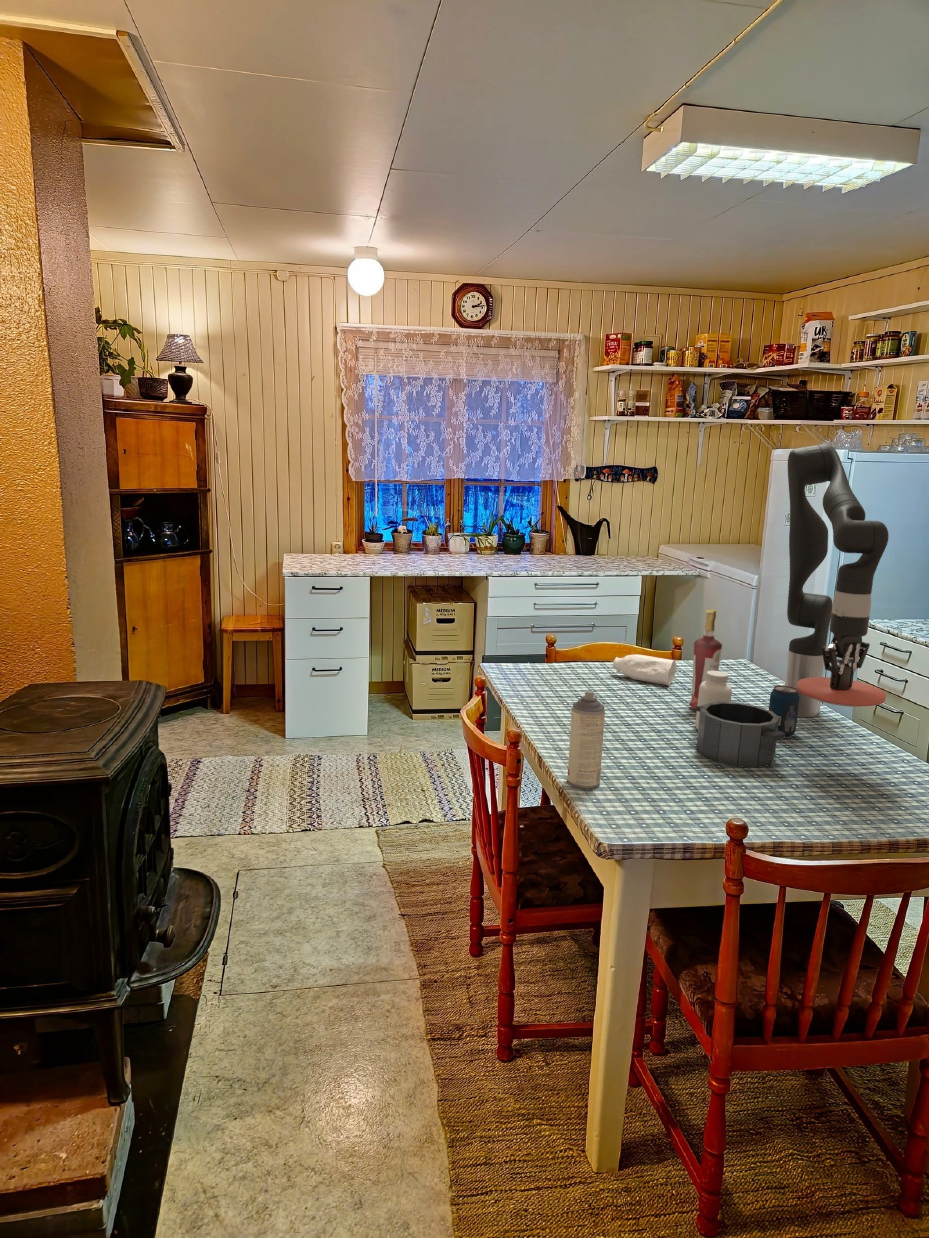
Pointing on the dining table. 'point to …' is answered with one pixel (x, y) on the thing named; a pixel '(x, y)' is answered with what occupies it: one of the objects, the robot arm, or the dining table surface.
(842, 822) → the dining table surface
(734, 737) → the pot
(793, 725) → the soda can
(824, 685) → the lid
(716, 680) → the pill bottle
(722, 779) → the dining table surface
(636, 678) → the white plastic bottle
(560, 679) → the dining table surface
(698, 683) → the liquor
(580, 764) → the aerosol can
